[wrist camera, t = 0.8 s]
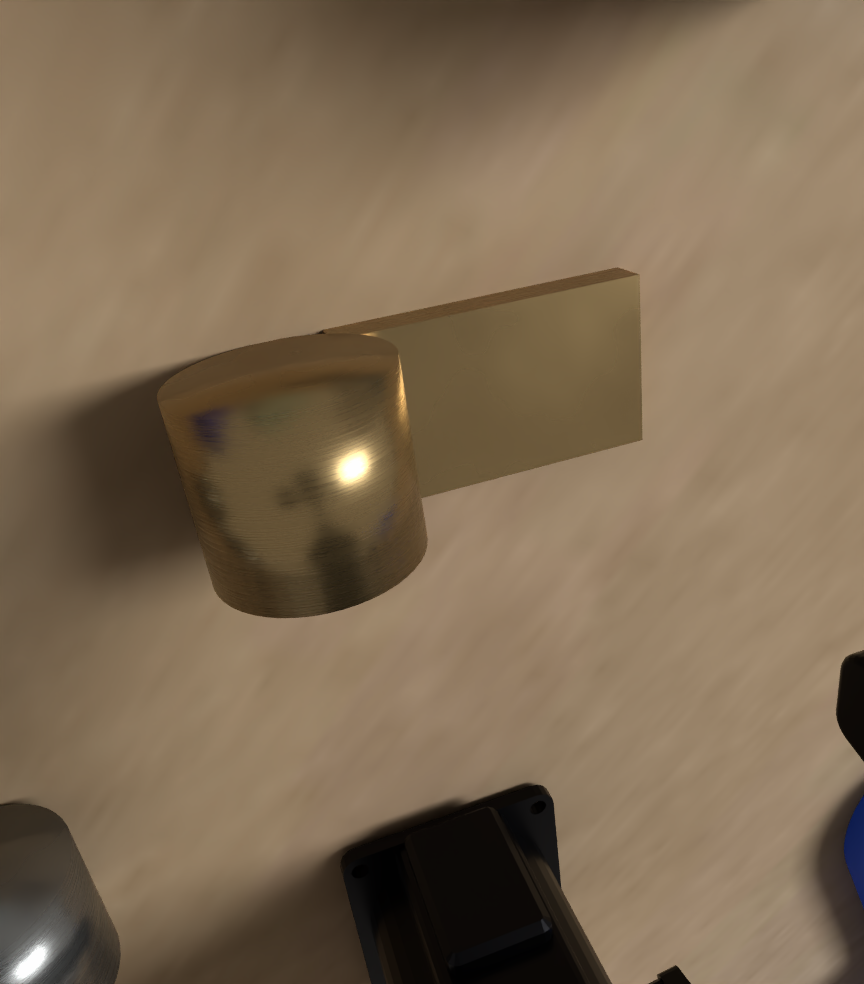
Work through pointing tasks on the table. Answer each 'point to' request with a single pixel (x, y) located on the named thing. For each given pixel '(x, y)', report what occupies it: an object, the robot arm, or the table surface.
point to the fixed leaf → (50, 905)
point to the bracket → (856, 848)
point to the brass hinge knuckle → (391, 432)
